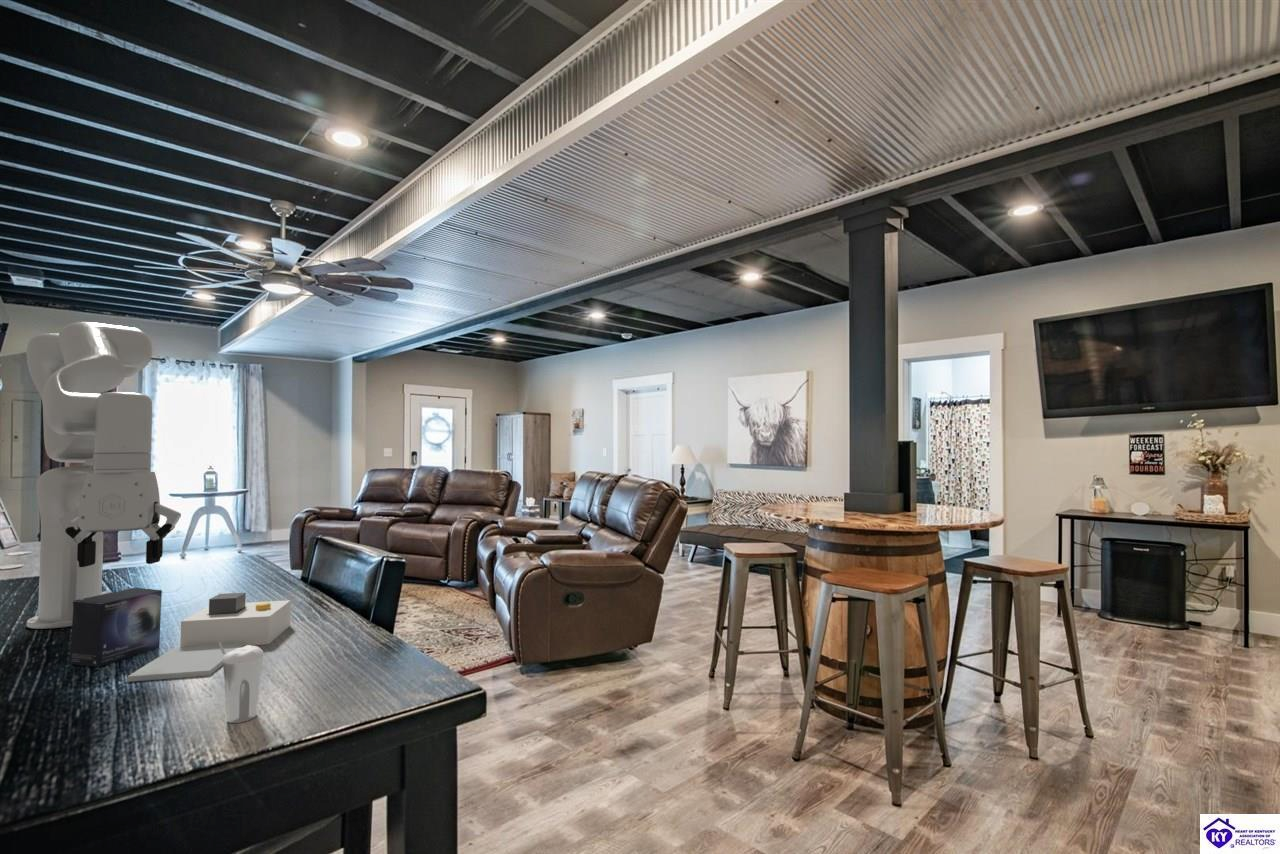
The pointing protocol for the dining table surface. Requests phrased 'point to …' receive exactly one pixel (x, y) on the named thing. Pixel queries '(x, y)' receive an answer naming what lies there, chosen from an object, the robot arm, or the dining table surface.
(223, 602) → the button
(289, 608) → the switch panel
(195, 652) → the lockout pad
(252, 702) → the milkshake
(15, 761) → the dining table surface
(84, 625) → the small box
